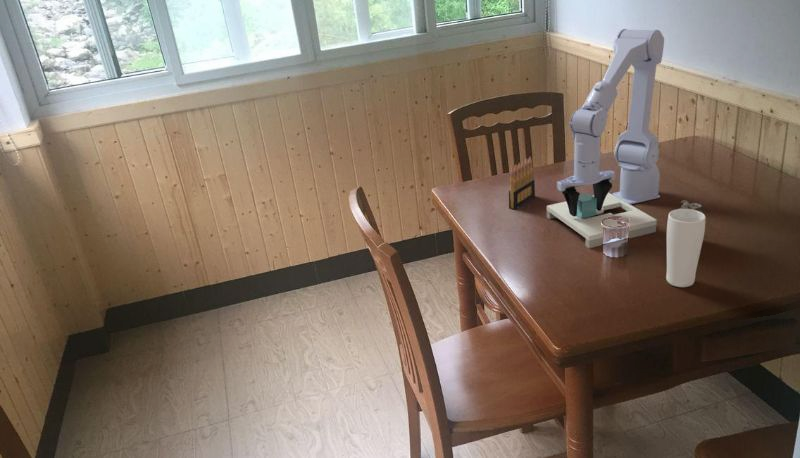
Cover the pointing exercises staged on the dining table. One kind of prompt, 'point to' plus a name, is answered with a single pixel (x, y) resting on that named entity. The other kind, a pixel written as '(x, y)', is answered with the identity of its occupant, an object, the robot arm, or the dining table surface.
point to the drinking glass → (683, 245)
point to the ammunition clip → (521, 184)
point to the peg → (586, 206)
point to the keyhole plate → (592, 226)
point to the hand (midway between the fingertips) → (585, 212)
